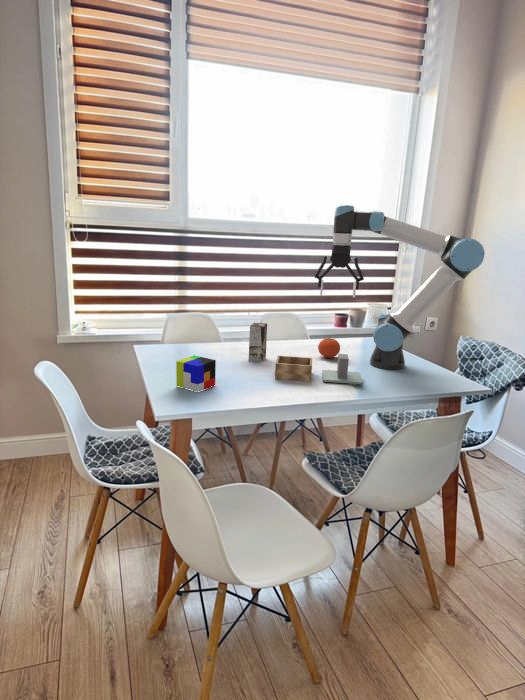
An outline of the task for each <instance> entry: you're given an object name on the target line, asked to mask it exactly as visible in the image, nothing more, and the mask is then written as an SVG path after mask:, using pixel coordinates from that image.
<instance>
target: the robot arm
mask: <svg viewBox="0 0 525 700" xmlns="http://www.w3.org/2000/svg"><path fill="white" fill-rule="evenodd" d="M333 220H334V221H333V233H332V243H333V244H332V246H331V256H328V255H324V256H323V259H322V262H321V264H320V266H319V268H318V269H317V270H316V273H315V275H314V278H315V279H317V280H318V283H317V286H318V288H320V294H319V295H320V296H321V297H322V296H323V289H324V279H323V278H324V277H325V276H326V275H327V274H328V273H329V272H330V271H331V270H332V269H333V268H334V267H335V268H337V269H338V268H341V269H344V268H346V269H347V271H349V274H351V276H352V278H354V281H353V288H352V289H353V290H352V298H356V292H357V291H356V290H359V286H360V282H361V281H364V279H365V277H364V275H363V273H362V271H361V268H360V266H359V263H358V262H359V261H358V257H356V256H355V257H351V251H352V250H351V249H352V248H351V244H352V235H353V231H363V232H364V231H365V232H366V231H367V232H368V231H369V232H372V233H375V234H377V235H378V234H379V235H381V236H384V237H388V238H389V239H393V240H396V241H399V242H401V243H405V244H407V245H410V246H412V247H415V248H419V249H422V250H425V251H427V252H430V253H433V254H436V255H438V257H439V258H440V259H439V266H438V268H436V269H435V271H434V272H433V273H432V274H431V275H430V276H429V277H428V278H427V279H426V280H425V282H423V284H421V285H420V286H419V288H418V289H417V290H416V291H414V293H413V294H412V295H411V296H410V297H409V298H408V299H407V300H406V301H405V302H404V303H403V305H401V306H400V307H399V309H398V310H397V311H393V312H389V313H380V314H379V316H378V319H377V326H376V327H375V329H374V331H373V335H372V336H373V342H374V343H375V346H374V349H373V352H372V353H371V356H370V358H369V359H370V360H369V364H370V365H371V366H373V367H375V368H379V369H384V370H400V369H402V370H403V369H404V368H405V365H406V360H405V355H404V351H403V348H404V347H403V346H404V341H405V340H406V339H407V338H408V337H409V336H410V335H411V334H412V332H413V327H414V325H415V324H416V323H417V322H419V320H420V319H421V318H422V317H423V316H424V315H425V314H426V313H428V311H429V310H430V309H431V308H432V307H433V306H434V305H435V304H436V303H437V302H438V301H439V300H440V299H441V298H442V297H443V295H445V293H446V292H447V291H448V290H450V289H451V288H452V286H454V284H456V282H458V281H464V280H465V279H466V278H467V277H468V276H469V275H470V274H471V273H472V272H473V271H475V270H476V269H478V268H479V267H480V266H481V265H482V263H483V262H484V259H485V249H484V246H483V245H482V243H480V241H478V240H477V239H476V238H471V237H465V238H464V237H458V236H454V235H451V234H448V235H446V236H445V235H444V234H440V233H436V232H434V231H430V230H427V229H425V228H422V227H419V226H415V225H412V224H409V223H407V222H403V221H401V220H397V219H394V218H391V217H389V216H386V215H385V213H384V211H377V210H362V211H361V210H355V206H354V205H350V204H348V205H346V204H338V205H336V207H335V210H334V217H333ZM329 260H330V262H331V264H329V266H328V267H327V268H326V269H325V270H324V271H323V272H322V270H323V268H324V267H325V265H326V263H328V262H329ZM350 262H352V263H354V267H355V269H356V271H357V274H358V276H359V277H358V276H357V275H356V273H355V272H354V270H353V269H352V267H350V265H349V263H350ZM321 272H322V273H321Z"/></svg>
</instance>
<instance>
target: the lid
mask: <svg viewBox="0 0 525 700" xmlns="http://www.w3.org/2000/svg"><path fill="white" fill-rule="evenodd" d="M337 356H338V358H337V368H336V370H333V369H332V370H329V369H321V371H322V373H321V374H322V383H323V382H325V383H326V382H327V383H339V384H350V385H351V386H353V387H354V386H355V387H357V386H358V385H363V384H364V382H363V379H362V376H361V372H359V371H348V370H349V360H350V359H349V355H348V354H347V353H338V354H337Z"/></svg>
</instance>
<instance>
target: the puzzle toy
mask: <svg viewBox="0 0 525 700" xmlns="http://www.w3.org/2000/svg"><path fill="white" fill-rule="evenodd" d="M175 362H176V364H175V365H176V372H175V373H176V375H175V376H176V377H175V378H176V387H177V386H180V387H183V388H187V389H191V390H193V391H197V392H198V391H201V390H204V389H206V388H209V387H211V386H214V385H215V386H216V366H217V365H216V359H213V358H208V357H204V356H200V355H196V354H195V355H191V356H188V357H185V358H182V359H181V358H180V359H179V360H176V361H175ZM215 386H214V387H215ZM211 388H212V387H211ZM209 389H210V388H209ZM204 391H205V390H204Z"/></svg>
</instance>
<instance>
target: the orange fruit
mask: <svg viewBox="0 0 525 700" xmlns="http://www.w3.org/2000/svg"><path fill="white" fill-rule="evenodd" d="M317 349H318V353H319V354H320V355H321V357H324V358H327V359H330V358H335V357H337V356H338V354H340V351H341V345H340V343H339V342H338V340H337V339H336V338H331V337H328V338H327V337H326V338H325V337H324V338H323V339H322V340H321V341H319V343H318V345H317Z"/></svg>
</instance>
